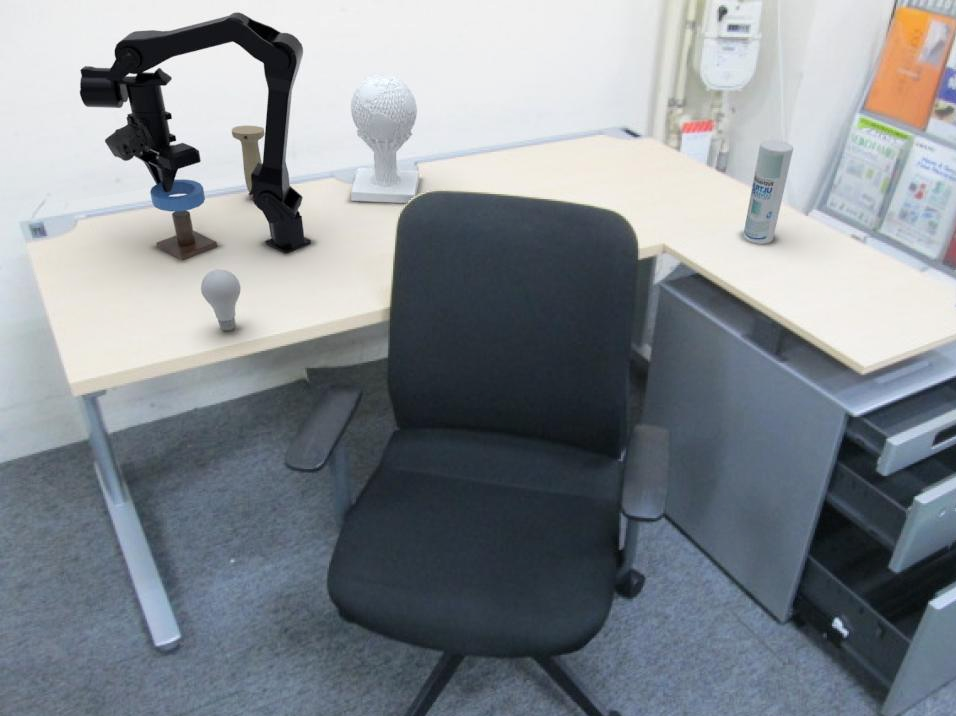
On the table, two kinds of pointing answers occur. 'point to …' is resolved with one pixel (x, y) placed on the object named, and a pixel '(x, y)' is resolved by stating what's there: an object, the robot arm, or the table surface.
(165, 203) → the tape
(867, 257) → the table surface
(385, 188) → the trophy
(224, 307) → the lightbulb
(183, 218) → the peg stand
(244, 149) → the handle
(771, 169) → the spray can
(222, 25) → the robot arm
